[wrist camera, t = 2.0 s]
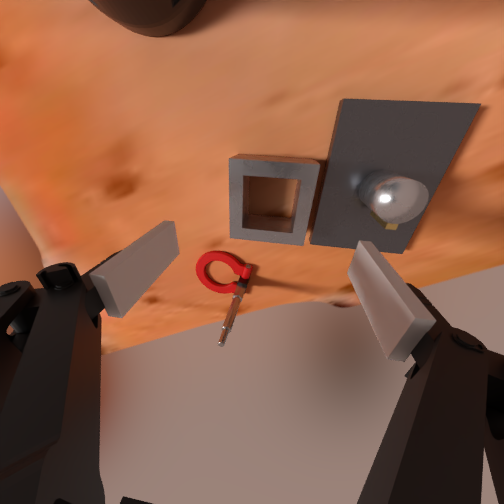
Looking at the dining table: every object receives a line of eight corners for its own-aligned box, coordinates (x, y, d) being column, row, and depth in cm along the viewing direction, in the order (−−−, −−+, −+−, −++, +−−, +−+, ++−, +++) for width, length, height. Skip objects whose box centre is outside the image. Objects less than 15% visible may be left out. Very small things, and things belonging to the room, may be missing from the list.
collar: (238, 153, 24) (228, 158, 20) (313, 158, 23) (320, 164, 19) (237, 222, 29) (229, 238, 24) (300, 228, 28) (303, 245, 24)
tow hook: (196, 280, 36) (243, 296, 36) (153, 341, 25) (221, 365, 25) (201, 242, 32) (255, 260, 32) (153, 296, 21) (234, 325, 21)
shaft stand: (339, 100, 20) (363, 87, 14) (468, 105, 19) (552, 92, 13) (309, 239, 28) (315, 267, 23) (396, 248, 27) (428, 280, 21)
